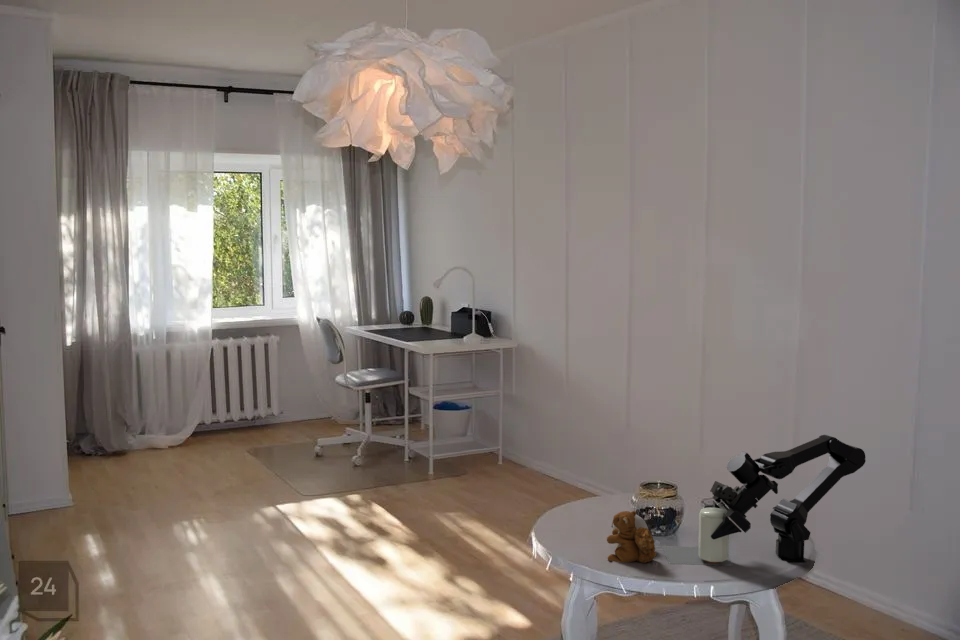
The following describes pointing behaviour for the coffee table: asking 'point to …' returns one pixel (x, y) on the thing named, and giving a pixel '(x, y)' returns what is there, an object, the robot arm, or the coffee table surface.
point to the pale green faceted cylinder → (707, 525)
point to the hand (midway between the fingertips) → (708, 533)
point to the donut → (638, 522)
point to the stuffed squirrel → (630, 540)
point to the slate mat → (688, 556)
